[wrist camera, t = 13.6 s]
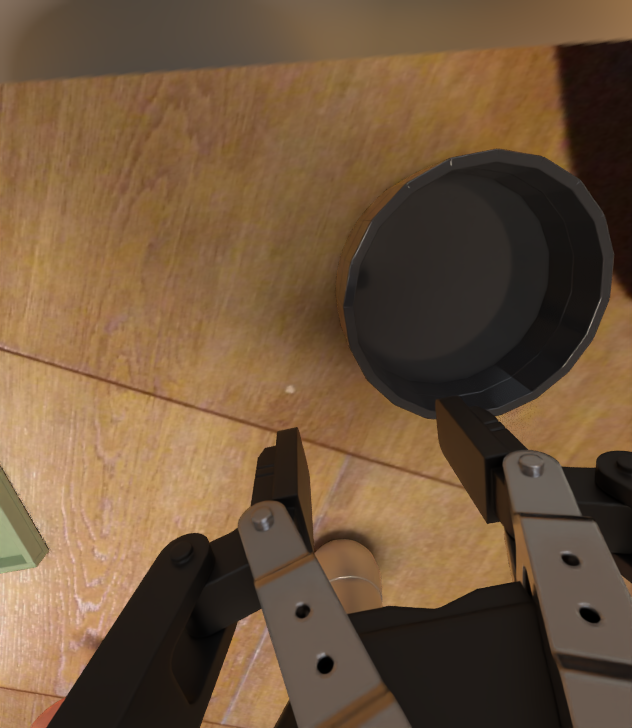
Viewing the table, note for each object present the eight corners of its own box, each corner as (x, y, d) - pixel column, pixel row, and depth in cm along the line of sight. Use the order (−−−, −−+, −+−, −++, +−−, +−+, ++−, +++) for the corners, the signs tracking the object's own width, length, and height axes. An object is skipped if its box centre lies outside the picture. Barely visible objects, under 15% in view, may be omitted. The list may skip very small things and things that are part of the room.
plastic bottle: (293, 572, 36) (288, 964, 17) (322, 519, 33) (354, 898, 15) (355, 590, 37) (416, 975, 18) (387, 539, 35) (493, 914, 16)
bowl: (317, 190, 24) (323, 182, 19) (556, 143, 24) (627, 122, 19) (352, 402, 30) (363, 440, 24) (547, 366, 29) (600, 397, 24)
